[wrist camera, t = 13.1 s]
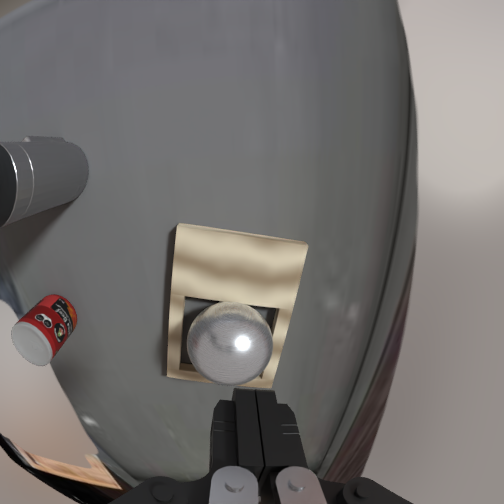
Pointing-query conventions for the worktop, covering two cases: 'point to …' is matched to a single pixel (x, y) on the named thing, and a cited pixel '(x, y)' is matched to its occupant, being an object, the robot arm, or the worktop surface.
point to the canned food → (44, 329)
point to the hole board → (233, 284)
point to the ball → (230, 343)
